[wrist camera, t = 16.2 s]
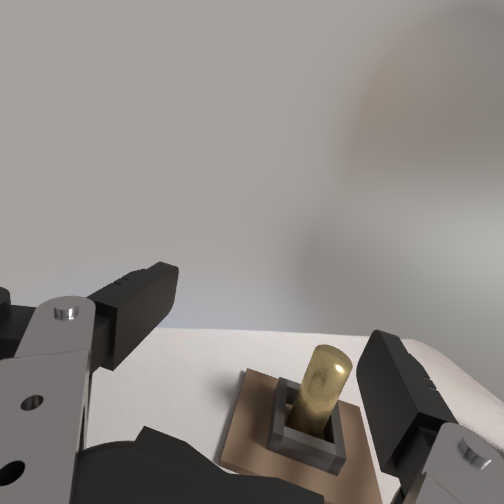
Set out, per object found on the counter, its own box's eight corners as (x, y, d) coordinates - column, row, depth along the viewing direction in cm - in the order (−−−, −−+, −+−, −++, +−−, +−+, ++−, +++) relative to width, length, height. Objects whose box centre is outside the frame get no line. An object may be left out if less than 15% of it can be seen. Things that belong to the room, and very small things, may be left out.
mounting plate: (218, 465, 28) (226, 440, 27) (245, 372, 41) (251, 353, 40) (383, 530, 26) (400, 507, 25) (356, 411, 39) (366, 392, 38)
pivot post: (284, 440, 32) (315, 365, 28) (286, 409, 36) (313, 340, 32) (319, 453, 31) (355, 378, 27) (317, 420, 35) (349, 351, 31)
